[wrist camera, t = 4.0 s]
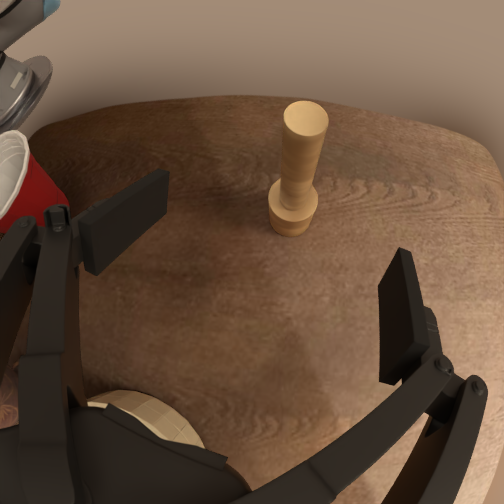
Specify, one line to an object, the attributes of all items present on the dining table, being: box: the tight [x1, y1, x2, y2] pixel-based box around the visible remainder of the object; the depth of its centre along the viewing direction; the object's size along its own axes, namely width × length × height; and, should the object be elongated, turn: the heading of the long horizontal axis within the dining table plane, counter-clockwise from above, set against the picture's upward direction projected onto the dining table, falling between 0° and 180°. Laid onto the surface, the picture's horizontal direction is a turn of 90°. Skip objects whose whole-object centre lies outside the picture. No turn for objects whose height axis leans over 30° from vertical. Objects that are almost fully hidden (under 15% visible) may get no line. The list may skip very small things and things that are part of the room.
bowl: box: [87, 390, 205, 449], centre depth 23 cm, size 15×15×6 cm
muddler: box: [268, 101, 329, 237], centre depth 22 cm, size 4×4×16 cm
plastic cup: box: [0, 130, 69, 233], centre depth 26 cm, size 11×11×12 cm
